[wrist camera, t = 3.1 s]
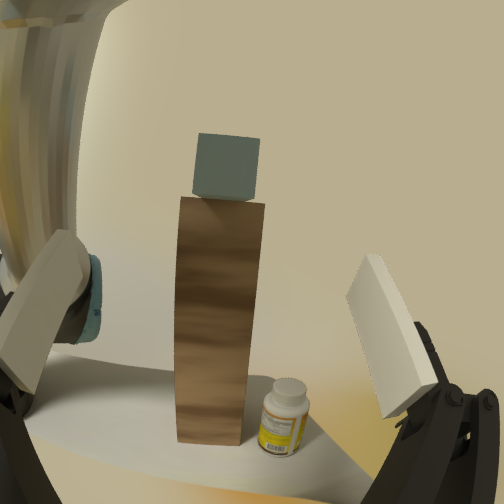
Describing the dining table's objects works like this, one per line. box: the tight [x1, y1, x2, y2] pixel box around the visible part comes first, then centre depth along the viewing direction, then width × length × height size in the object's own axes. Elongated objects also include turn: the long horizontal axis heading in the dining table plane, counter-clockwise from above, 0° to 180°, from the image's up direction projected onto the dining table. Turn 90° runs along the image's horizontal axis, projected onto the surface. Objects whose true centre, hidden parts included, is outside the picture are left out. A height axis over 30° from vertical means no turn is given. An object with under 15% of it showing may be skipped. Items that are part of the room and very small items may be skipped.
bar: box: [192, 133, 260, 202], centre depth 29 cm, size 22×4×4 cm, turn 6°
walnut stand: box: [174, 197, 265, 446], centre depth 34 cm, size 10×8×30 cm
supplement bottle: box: [258, 378, 310, 457], centre depth 32 cm, size 6×6×10 cm
